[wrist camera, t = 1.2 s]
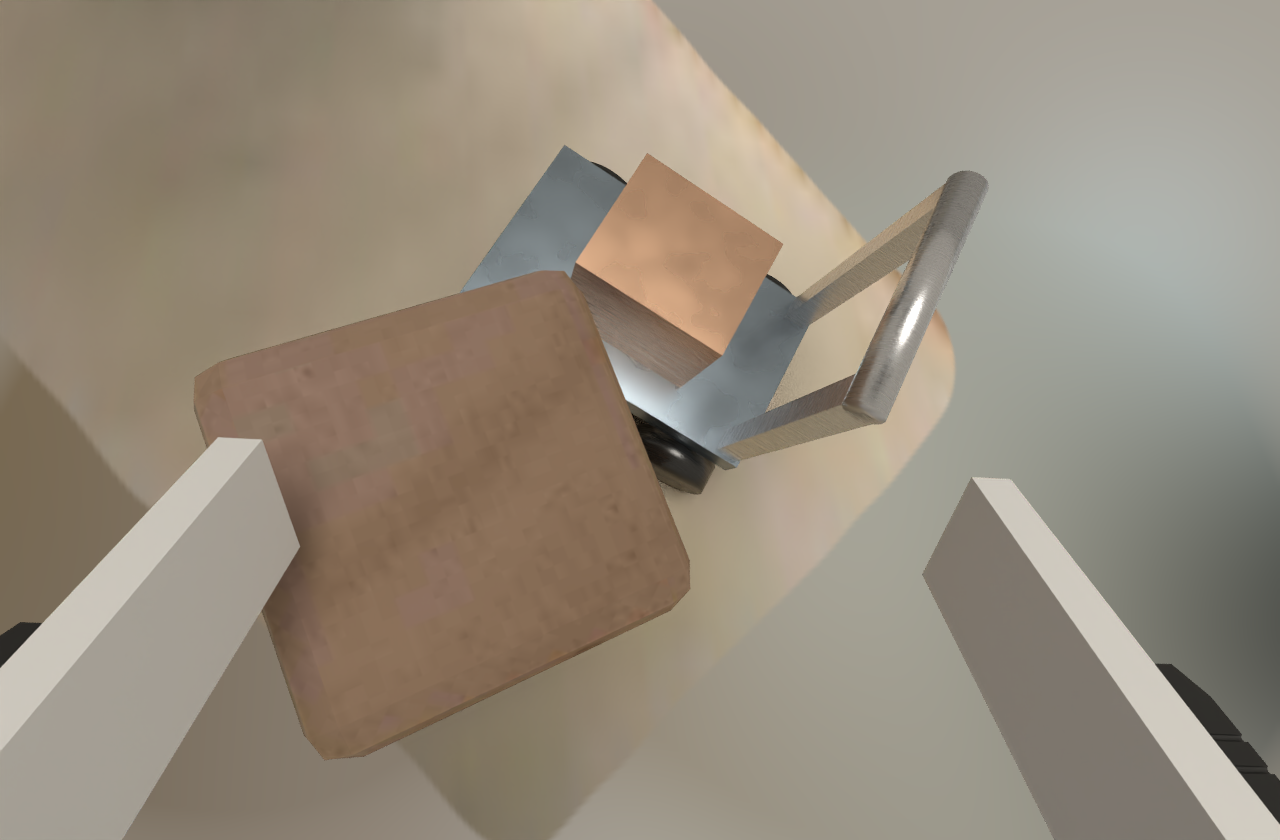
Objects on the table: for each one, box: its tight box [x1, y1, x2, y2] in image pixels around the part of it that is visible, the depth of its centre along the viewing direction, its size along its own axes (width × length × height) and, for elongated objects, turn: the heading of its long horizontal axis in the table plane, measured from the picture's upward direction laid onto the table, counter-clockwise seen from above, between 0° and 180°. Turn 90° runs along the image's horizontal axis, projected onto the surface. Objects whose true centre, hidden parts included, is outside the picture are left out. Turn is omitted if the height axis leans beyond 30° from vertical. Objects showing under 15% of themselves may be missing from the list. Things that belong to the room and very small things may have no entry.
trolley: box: [460, 145, 988, 494], centre depth 28 cm, size 16×13×19 cm
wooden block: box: [194, 270, 690, 760], centre depth 24 cm, size 10×10×20 cm
